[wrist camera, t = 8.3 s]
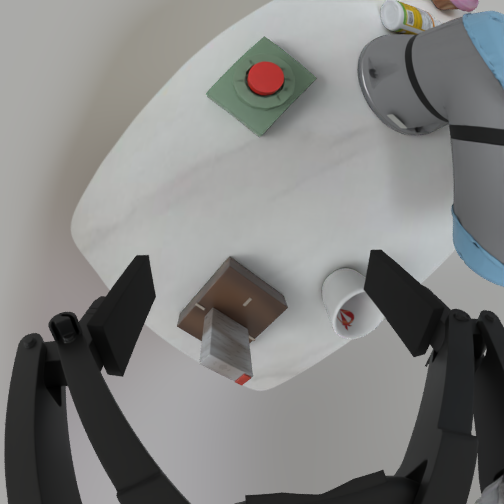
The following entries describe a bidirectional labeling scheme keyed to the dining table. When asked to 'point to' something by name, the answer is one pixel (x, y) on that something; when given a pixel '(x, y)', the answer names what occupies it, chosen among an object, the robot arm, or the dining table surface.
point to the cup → (350, 304)
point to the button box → (250, 103)
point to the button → (265, 78)
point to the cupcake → (456, 4)
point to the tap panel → (234, 301)
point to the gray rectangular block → (226, 347)
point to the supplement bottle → (406, 18)
